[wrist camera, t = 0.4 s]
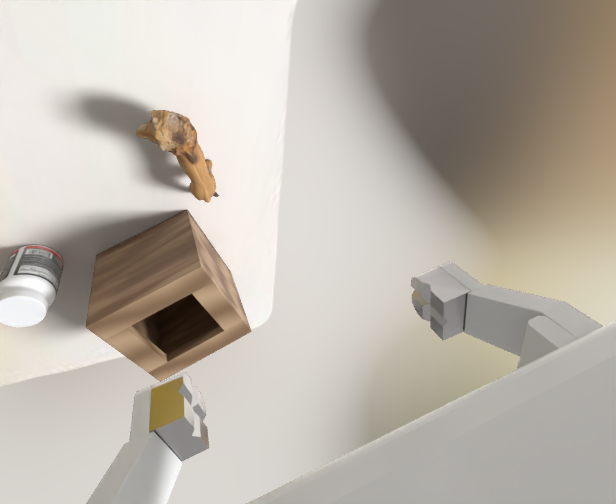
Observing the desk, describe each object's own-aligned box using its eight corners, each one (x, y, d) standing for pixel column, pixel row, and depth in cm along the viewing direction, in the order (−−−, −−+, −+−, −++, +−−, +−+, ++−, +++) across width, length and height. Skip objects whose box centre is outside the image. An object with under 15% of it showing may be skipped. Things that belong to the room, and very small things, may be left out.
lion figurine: (129, 109, 39) (128, 132, 33) (169, 86, 40) (176, 104, 33) (202, 203, 49) (212, 235, 42) (233, 184, 49) (249, 213, 43)
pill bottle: (31, 284, 46) (12, 338, 39) (-2, 254, 43) (-31, 307, 35) (74, 267, 47) (62, 317, 40) (45, 236, 44) (26, 285, 36)
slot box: (96, 255, 47) (85, 327, 37) (187, 209, 49) (201, 266, 38) (155, 311, 57) (160, 381, 46) (230, 271, 58) (251, 331, 48)
